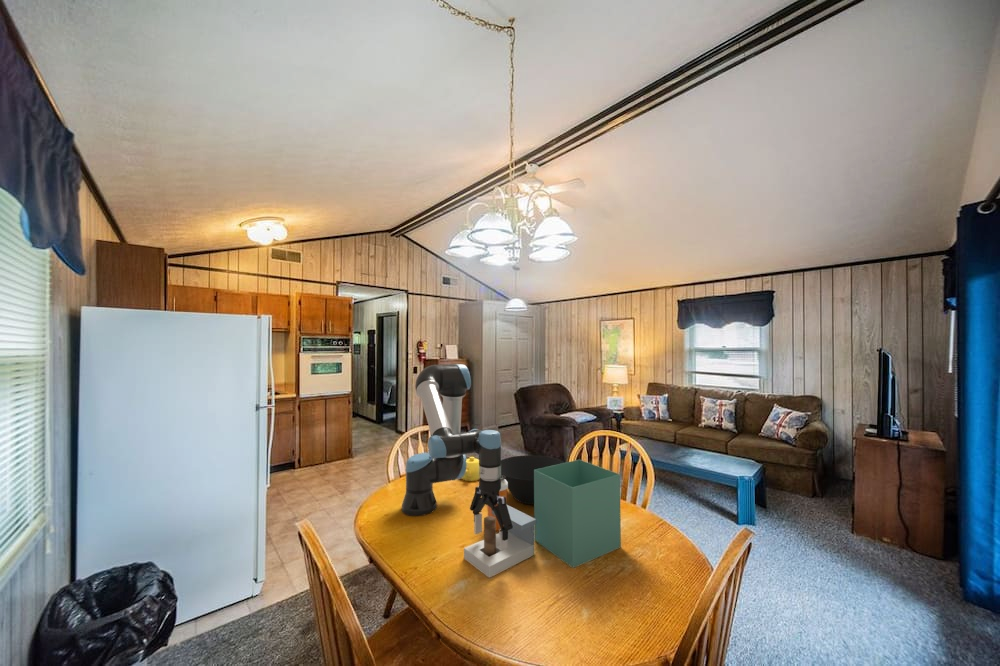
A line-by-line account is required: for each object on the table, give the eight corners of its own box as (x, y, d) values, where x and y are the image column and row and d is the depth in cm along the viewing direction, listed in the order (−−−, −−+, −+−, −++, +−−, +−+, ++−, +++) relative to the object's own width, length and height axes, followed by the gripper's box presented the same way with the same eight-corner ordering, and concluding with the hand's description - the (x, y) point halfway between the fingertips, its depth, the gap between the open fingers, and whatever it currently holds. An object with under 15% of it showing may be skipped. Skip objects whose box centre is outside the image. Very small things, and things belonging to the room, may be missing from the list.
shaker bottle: (505, 532, 146) (505, 480, 146) (483, 530, 148) (483, 479, 148) (509, 522, 154) (509, 472, 155) (488, 520, 156) (488, 471, 157)
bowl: (581, 493, 183) (581, 462, 184) (550, 523, 153) (550, 486, 154) (518, 479, 202) (518, 451, 203) (480, 503, 172) (479, 470, 173)
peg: (491, 556, 130) (490, 515, 130) (498, 561, 127) (498, 519, 127) (481, 560, 127) (481, 518, 128) (489, 565, 124) (488, 522, 125)
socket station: (462, 557, 129) (462, 520, 130) (506, 537, 142) (505, 504, 142) (491, 579, 117) (491, 538, 117) (536, 555, 130) (536, 519, 130)
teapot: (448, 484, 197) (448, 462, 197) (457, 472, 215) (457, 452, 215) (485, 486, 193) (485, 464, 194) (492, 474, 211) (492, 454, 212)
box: (572, 568, 123) (572, 487, 124) (534, 540, 140) (533, 469, 141) (621, 547, 135) (620, 474, 136) (580, 523, 153) (579, 459, 153)
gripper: (460, 470, 135) (460, 530, 134) (505, 491, 116) (506, 561, 115) (477, 465, 140) (477, 523, 139) (523, 485, 121) (523, 552, 120)
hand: (490, 540), depth 127 cm, fingers open, 13 cm apart
